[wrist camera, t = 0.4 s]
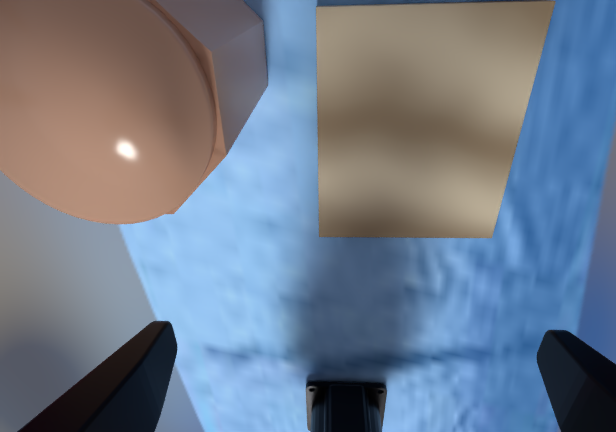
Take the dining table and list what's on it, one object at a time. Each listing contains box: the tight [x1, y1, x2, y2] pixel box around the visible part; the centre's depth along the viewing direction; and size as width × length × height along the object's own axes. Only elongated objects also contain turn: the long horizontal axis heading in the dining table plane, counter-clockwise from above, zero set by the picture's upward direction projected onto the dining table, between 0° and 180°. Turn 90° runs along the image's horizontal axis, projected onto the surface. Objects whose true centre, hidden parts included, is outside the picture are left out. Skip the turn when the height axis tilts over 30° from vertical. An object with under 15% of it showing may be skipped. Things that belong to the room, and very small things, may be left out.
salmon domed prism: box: [0, 0, 268, 224], centre depth 15 cm, size 7×7×10 cm
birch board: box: [316, 0, 555, 238], centre depth 20 cm, size 12×10×1 cm
